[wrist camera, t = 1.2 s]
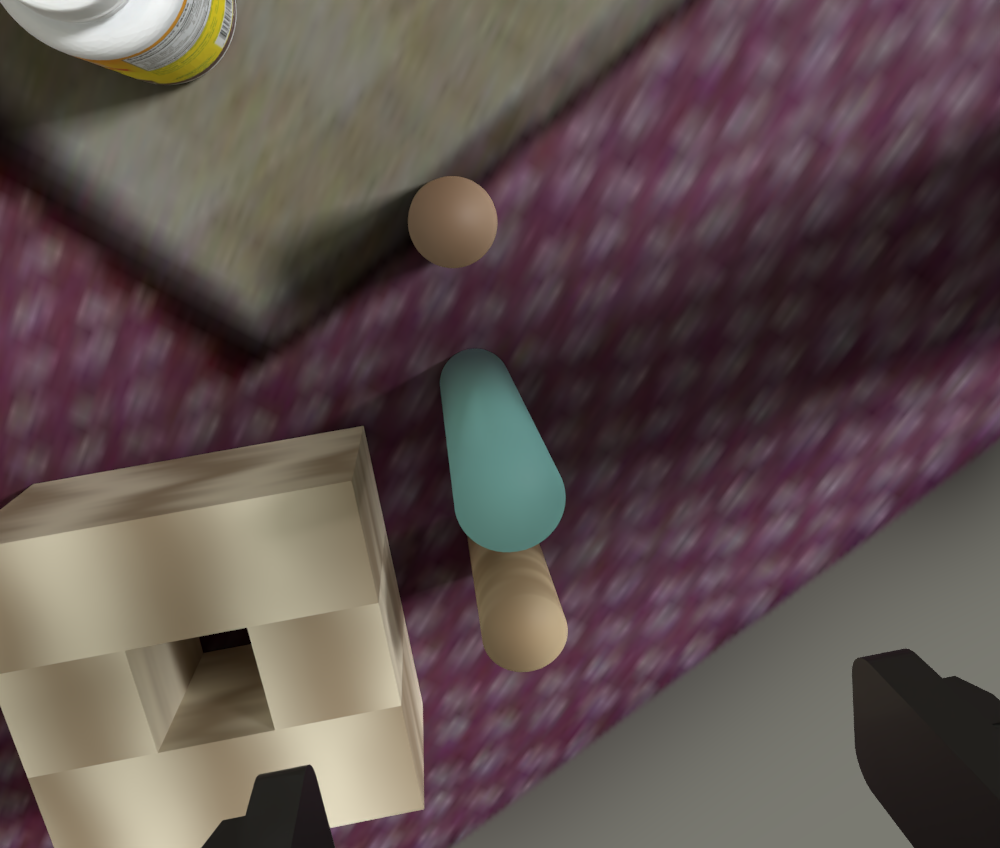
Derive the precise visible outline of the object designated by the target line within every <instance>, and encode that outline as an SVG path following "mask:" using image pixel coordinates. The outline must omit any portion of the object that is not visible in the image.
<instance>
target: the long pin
mask: <svg viewBox="0 0 1000 848" xmlns="http://www.w3.org/2000/svg"><path fill="white" fill-rule="evenodd" d="M440 391H441V400H442V408H443V416H444V425H445V433H446V441H447V450H448V458H449V466H450V475H451V483H452V491H453V500H454V508H455V513H456V517H457V520H458V522H459V524H460V526H461V528H462V529H463V531H464V532H465V533H466V535H467V536H468V537H469V538H471V539H472V540H473V541H474V542H476V543H477V544H479V545H480V546H482V547H484V548H487V549H490V550H493V551H497V552H518V551H522V550H526V549H529V548H531V547H533V546H535V545H537V544H539V543H540V542H542V541H543V540H545V539H546V538H547V537H548V536H549V535H550V534H551V533H552V532H553V531H554V530H555V528H556V527H557V525H558V524H559V522H560V520H561V518H562V515H563V512H564V508H565V500H566V496H565V488H564V483H563V481H562V478H561V476H560V474H559V472H558V470H557V468H556V466H555V464H554V462H553V460H552V458H551V456H550V454H549V452H548V450H547V448H546V446H545V444H544V442H543V440H542V438H541V436H540V434H539V432H538V430H537V428H536V426H535V424H534V422H533V420H532V418H531V416H530V414H529V412H528V410H527V408H526V406H525V404H524V402H523V400H522V398H521V396H520V394H519V392H518V390H517V388H516V386H515V384H514V382H513V380H512V378H511V376H510V374H509V372H508V370H507V368H506V366H505V364H504V363H503V362H502V360H501V359H500V358H499V357H498V356H496V355H495V354H493V353H492V352H489V351H487V350H484V349H467V350H463V351H461V352H459V353H457V354H455V355H454V356H453V357H451V358H450V359H449V360H448V362H447V363H446V364H445V366H444V368H443V370H442V373H441V376H440Z"/></svg>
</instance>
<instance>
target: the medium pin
mask: <svg viewBox="0 0 1000 848" xmlns="http://www.w3.org/2000/svg"><path fill="white" fill-rule="evenodd" d="M467 539H468V546H469V552H470V559H471V566H472V573H473V579H474V586H475V593H476V600H477V607H478V613H479V620H480V627H481V634H482V640H483V645H484V648H485V650H486V652H487V654H488V656H489V657H490V658H491V659H492V660H493V661H494V662H495V663H496V664H498V665H499V666H501V667H503V668H505V669H507V670H511V671H515V672H529V671H534V670H537V669H540V668H542V667H544V666H546V665H548V664H549V663H551V662H552V661H553V660H554V659H556V657H557V656H558V655H559V654H560V653H561V651H562V650H563V648H564V646H565V643H566V640H567V633H568V629H567V622H566V619H565V616H564V613H563V610H562V608H561V605H560V602H559V599H558V596H557V593H556V590H555V587H554V585H553V582H552V579H551V576H550V573H549V570H548V567H547V564H546V561H545V559H544V556H543V553H542V550H541V547H540V544H537V545H535V546H533V547H531V548H529V549H526V550H522V551H518V552H497V551H493V550H490V549H487V548H484V547H482V546H480V545H479V544H477V543H476V542H474V541H473V540H472V539H471V538H469V537H468V536H467Z"/></svg>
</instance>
